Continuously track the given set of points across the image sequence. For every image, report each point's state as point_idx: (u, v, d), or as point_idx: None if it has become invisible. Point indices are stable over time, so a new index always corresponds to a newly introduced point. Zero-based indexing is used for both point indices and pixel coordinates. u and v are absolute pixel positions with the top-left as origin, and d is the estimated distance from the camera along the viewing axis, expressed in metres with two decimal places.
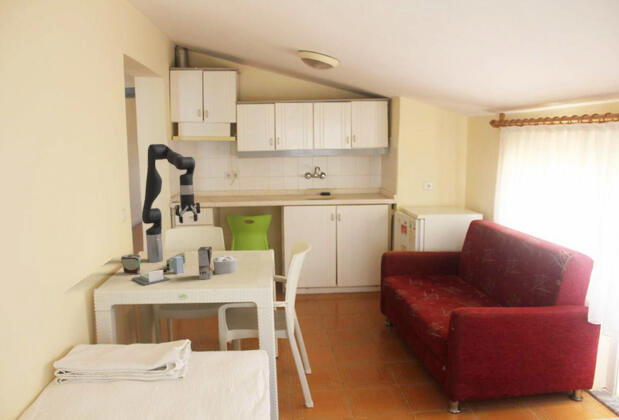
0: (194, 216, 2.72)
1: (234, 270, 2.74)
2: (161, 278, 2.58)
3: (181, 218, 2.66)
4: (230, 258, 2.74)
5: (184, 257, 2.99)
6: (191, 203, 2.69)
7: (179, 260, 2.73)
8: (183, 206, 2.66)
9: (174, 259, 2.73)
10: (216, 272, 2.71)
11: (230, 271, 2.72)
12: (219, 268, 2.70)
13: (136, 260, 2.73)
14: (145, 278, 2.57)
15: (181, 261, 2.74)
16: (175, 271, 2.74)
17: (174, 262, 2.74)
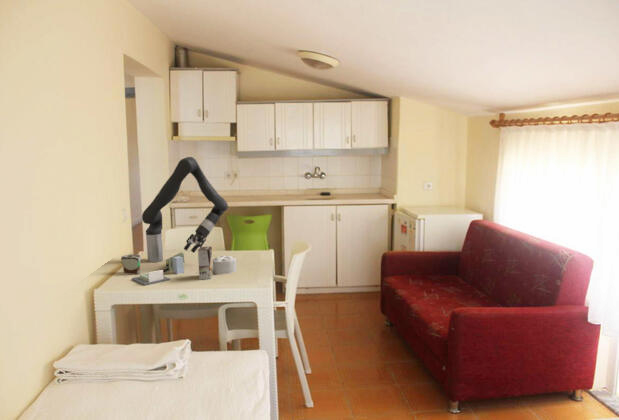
0: (187, 245, 2.83)
1: (233, 270, 2.74)
2: (161, 278, 2.58)
3: (196, 248, 2.77)
4: (229, 258, 2.74)
5: (183, 257, 2.99)
6: None
7: (179, 260, 2.73)
8: None
9: (174, 259, 2.73)
10: (215, 272, 2.71)
11: (230, 271, 2.72)
12: (219, 268, 2.70)
13: (136, 260, 2.73)
14: (145, 278, 2.57)
15: (181, 261, 2.74)
16: (175, 271, 2.74)
17: (174, 262, 2.74)
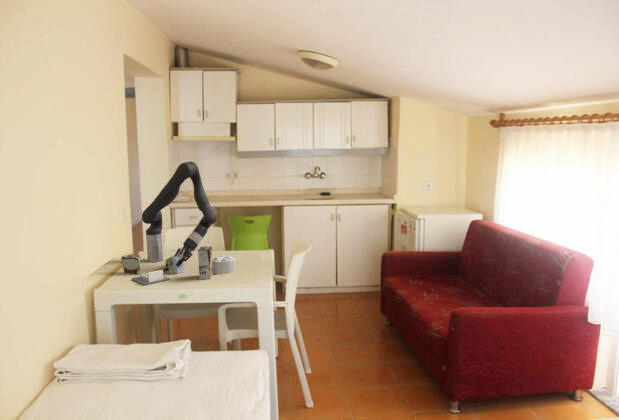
0: None
1: (233, 270, 2.74)
2: (161, 278, 2.58)
3: None
4: (229, 258, 2.74)
5: None
6: None
7: None
8: None
9: (174, 259, 2.74)
10: (215, 272, 2.71)
11: (229, 271, 2.72)
12: (218, 268, 2.70)
13: (136, 260, 2.73)
14: (145, 278, 2.57)
15: None
16: (175, 271, 2.74)
17: (174, 262, 2.74)
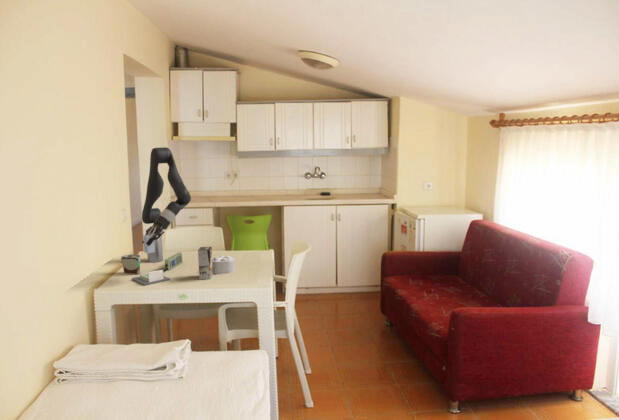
0: None
1: (232, 270, 2.75)
2: (161, 278, 2.58)
3: (152, 241, 2.57)
4: (228, 258, 2.74)
5: (181, 257, 2.99)
6: None
7: None
8: None
9: (144, 237, 2.57)
10: (214, 272, 2.71)
11: (228, 271, 2.73)
12: (218, 268, 2.70)
13: (136, 260, 2.73)
14: (145, 278, 2.57)
15: None
16: (146, 250, 2.58)
17: (145, 241, 2.58)
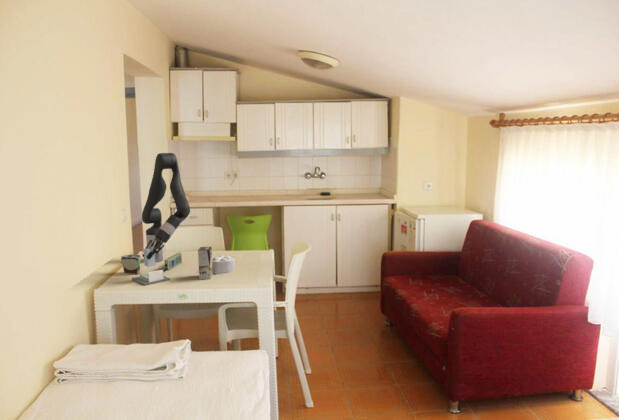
0: None
1: (232, 270, 2.75)
2: (161, 278, 2.58)
3: (152, 255, 2.58)
4: (228, 258, 2.74)
5: (181, 257, 2.99)
6: None
7: None
8: None
9: (145, 251, 2.58)
10: (214, 272, 2.71)
11: (228, 271, 2.73)
12: (217, 267, 2.70)
13: (136, 260, 2.73)
14: (145, 278, 2.57)
15: None
16: (146, 264, 2.59)
17: (145, 254, 2.59)
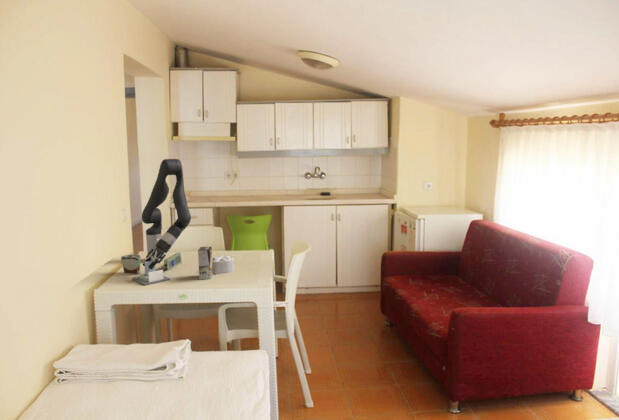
0: None
1: (231, 270, 2.75)
2: (161, 278, 2.58)
3: (154, 265, 2.58)
4: (227, 258, 2.74)
5: (180, 257, 2.99)
6: None
7: None
8: None
9: (146, 264, 2.59)
10: (214, 272, 2.71)
11: (228, 271, 2.73)
12: (217, 267, 2.70)
13: (136, 260, 2.73)
14: (145, 278, 2.57)
15: None
16: (147, 276, 2.60)
17: (146, 267, 2.60)
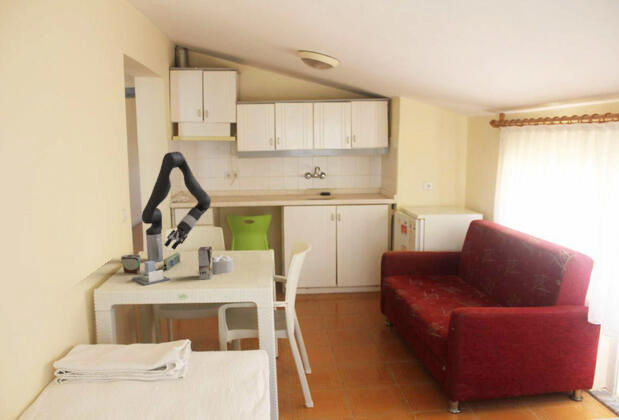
0: (168, 242, 2.71)
1: (231, 270, 2.75)
2: (161, 278, 2.58)
3: (177, 245, 2.66)
4: (227, 258, 2.75)
5: (179, 257, 2.99)
6: None
7: (151, 265, 2.59)
8: None
9: (146, 264, 2.59)
10: (213, 272, 2.71)
11: (227, 271, 2.73)
12: (216, 267, 2.70)
13: (136, 260, 2.73)
14: (145, 278, 2.57)
15: (153, 266, 2.60)
16: (147, 276, 2.60)
17: (146, 267, 2.60)
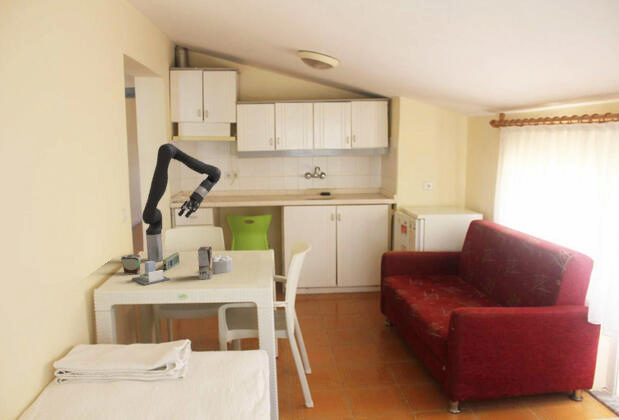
0: (182, 211, 2.87)
1: (230, 269, 2.75)
2: (161, 278, 2.58)
3: None
4: (226, 258, 2.75)
5: (178, 257, 2.99)
6: None
7: (151, 265, 2.59)
8: None
9: (146, 264, 2.59)
10: (213, 272, 2.71)
11: (227, 271, 2.73)
12: (216, 267, 2.71)
13: (136, 260, 2.73)
14: (145, 278, 2.57)
15: (153, 266, 2.60)
16: (147, 276, 2.60)
17: (146, 267, 2.60)
